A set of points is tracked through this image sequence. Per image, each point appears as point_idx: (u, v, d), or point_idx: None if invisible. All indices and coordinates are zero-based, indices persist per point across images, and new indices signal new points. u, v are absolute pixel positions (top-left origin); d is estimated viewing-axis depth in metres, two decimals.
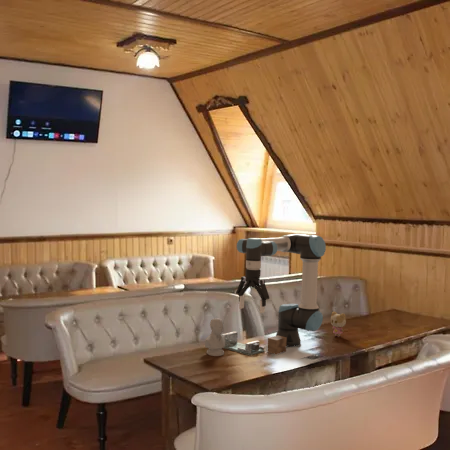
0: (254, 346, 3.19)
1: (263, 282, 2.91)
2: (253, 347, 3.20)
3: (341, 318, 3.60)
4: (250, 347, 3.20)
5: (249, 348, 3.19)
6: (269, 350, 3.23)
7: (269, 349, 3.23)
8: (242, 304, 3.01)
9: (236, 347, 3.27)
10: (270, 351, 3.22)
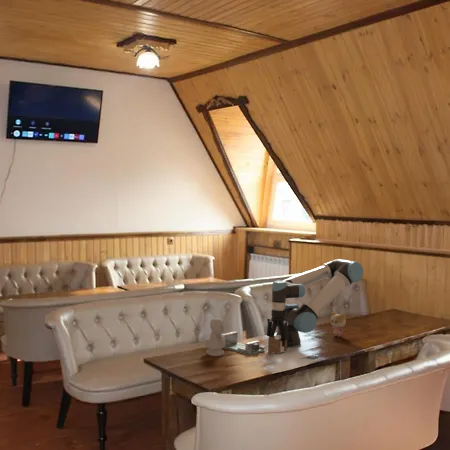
0: (254, 346, 3.19)
1: (287, 324, 3.20)
2: (253, 347, 3.20)
3: (341, 318, 3.60)
4: (250, 347, 3.20)
5: (249, 348, 3.19)
6: (270, 349, 3.23)
7: (270, 348, 3.23)
8: None
9: (236, 347, 3.27)
10: (271, 350, 3.22)
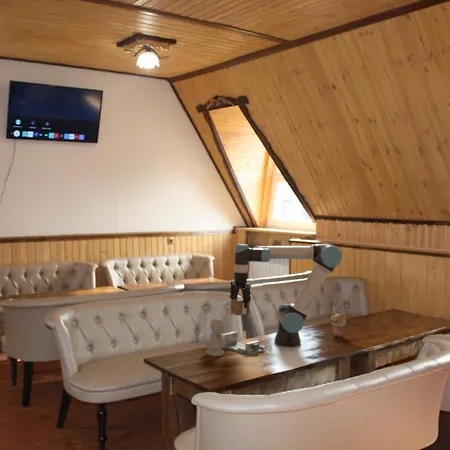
0: (254, 346, 3.19)
1: (249, 286, 3.23)
2: (253, 347, 3.20)
3: (341, 318, 3.60)
4: (250, 347, 3.20)
5: (249, 348, 3.19)
6: (232, 311, 3.26)
7: (232, 310, 3.26)
8: None
9: (236, 347, 3.27)
10: (233, 312, 3.26)
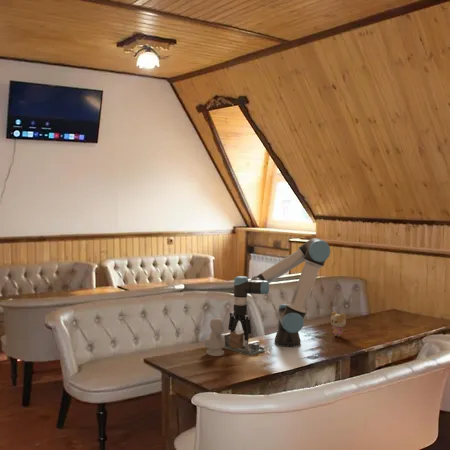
0: (254, 346, 3.19)
1: (249, 318, 3.24)
2: (253, 347, 3.20)
3: (341, 318, 3.60)
4: (250, 347, 3.20)
5: (249, 348, 3.19)
6: (231, 344, 3.27)
7: (231, 343, 3.27)
8: None
9: None
10: (232, 345, 3.27)
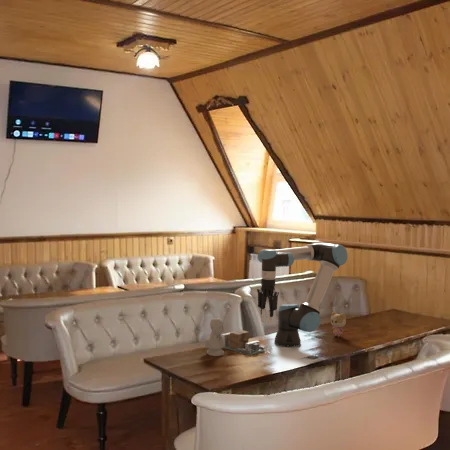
0: (254, 346, 3.19)
1: (277, 294, 3.10)
2: (253, 347, 3.20)
3: (341, 318, 3.60)
4: (250, 347, 3.20)
5: (249, 348, 3.19)
6: (231, 344, 3.27)
7: (231, 343, 3.27)
8: (264, 317, 3.16)
9: None
10: (232, 345, 3.27)
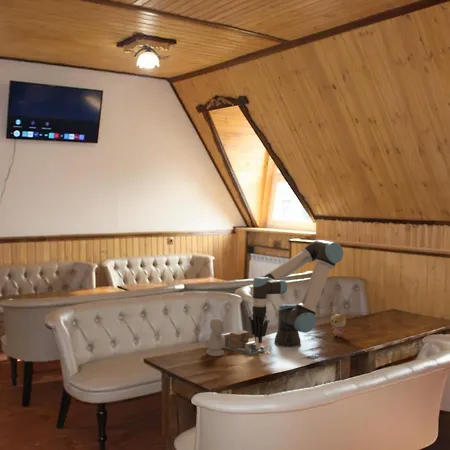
0: (254, 346, 3.20)
1: (267, 322, 3.15)
2: (253, 347, 3.20)
3: (341, 318, 3.60)
4: (250, 347, 3.20)
5: (249, 348, 3.19)
6: (231, 344, 3.27)
7: (231, 343, 3.27)
8: None
9: None
10: (232, 345, 3.27)
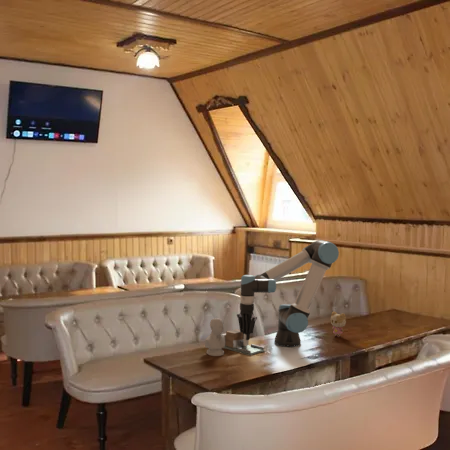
0: (242, 343, 3.26)
1: (254, 320, 3.21)
2: (241, 343, 3.26)
3: (341, 318, 3.60)
4: (238, 344, 3.26)
5: (237, 345, 3.25)
6: (227, 343, 3.29)
7: (227, 342, 3.29)
8: None
9: None
10: (228, 344, 3.29)
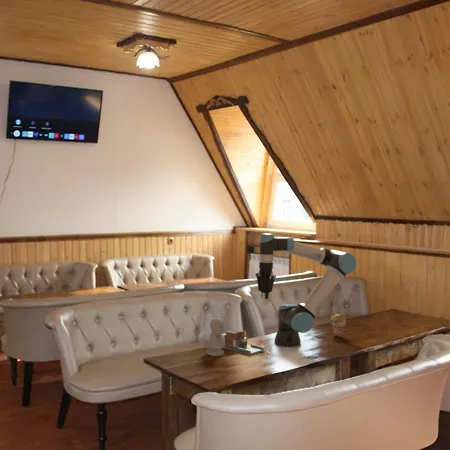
0: (242, 343, 3.26)
1: (274, 278, 3.18)
2: (241, 343, 3.26)
3: (341, 318, 3.60)
4: (238, 344, 3.26)
5: (237, 345, 3.25)
6: (227, 343, 3.29)
7: (227, 342, 3.29)
8: None
9: None
10: (228, 344, 3.29)
